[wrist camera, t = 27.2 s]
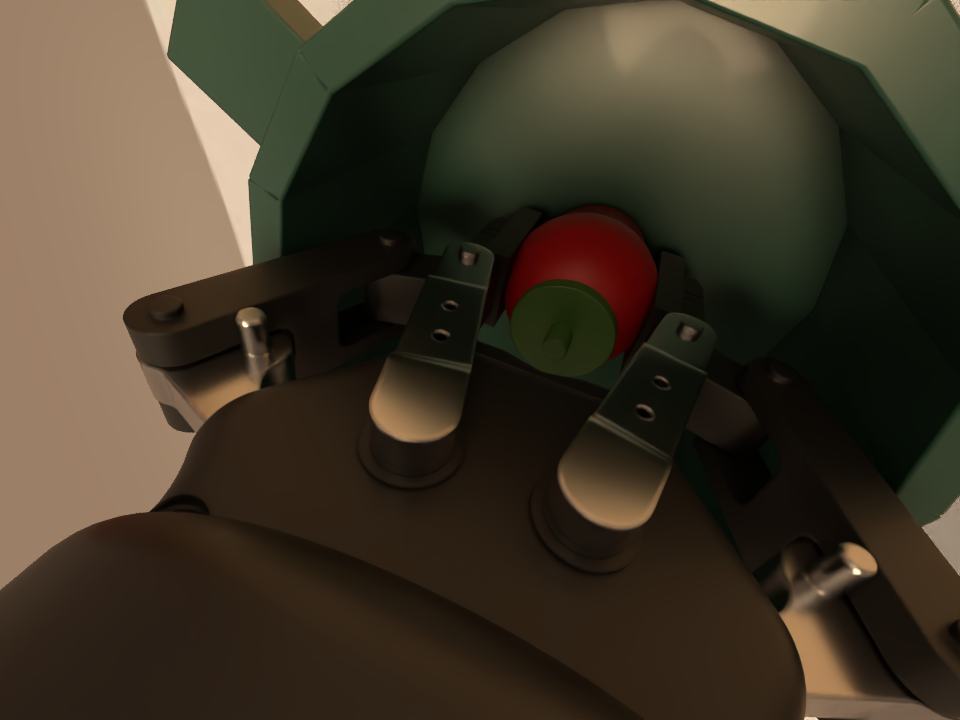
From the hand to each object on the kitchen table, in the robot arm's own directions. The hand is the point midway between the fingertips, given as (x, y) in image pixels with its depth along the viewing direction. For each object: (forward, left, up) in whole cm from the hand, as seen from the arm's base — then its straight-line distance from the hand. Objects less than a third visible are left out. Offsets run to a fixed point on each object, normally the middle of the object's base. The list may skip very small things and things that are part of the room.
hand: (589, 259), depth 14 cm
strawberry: (0, 0, -1) cm, 1 cm away
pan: (0, 0, -1) cm, 1 cm away
